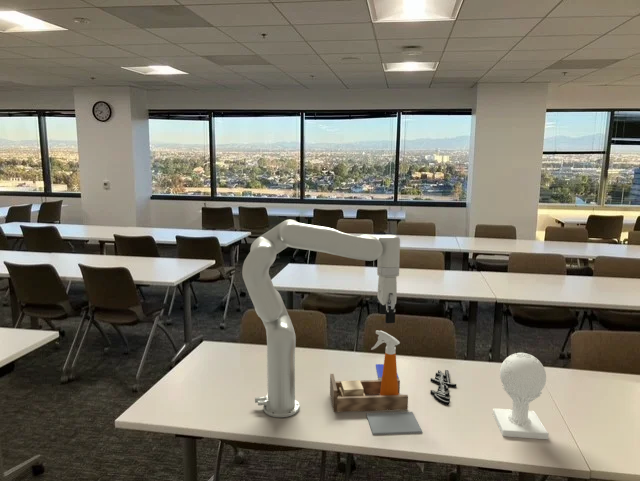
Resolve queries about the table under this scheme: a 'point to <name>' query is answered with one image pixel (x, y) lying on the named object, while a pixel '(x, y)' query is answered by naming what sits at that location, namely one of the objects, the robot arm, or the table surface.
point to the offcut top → (352, 388)
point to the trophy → (521, 396)
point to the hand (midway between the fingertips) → (387, 318)
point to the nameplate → (442, 387)
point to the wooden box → (366, 398)
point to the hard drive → (381, 371)
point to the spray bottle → (388, 364)
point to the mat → (393, 423)
